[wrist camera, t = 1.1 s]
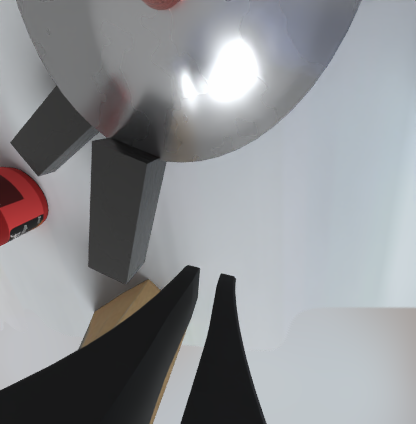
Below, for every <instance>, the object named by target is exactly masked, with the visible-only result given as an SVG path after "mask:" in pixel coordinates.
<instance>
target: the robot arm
mask: <svg viewBox="0 0 416 424" xmlns="http://www.w3.org/2000/svg"><path fill="white" fill-rule="evenodd" d="M199 274H200V268H198V267H194V266H190V265H187V266H186V267H185V268H184V269H183V270H182V271H181V272H180V273H179V274H178V275H177V276H176V277H175V278H174V279H173V280H172V281H171V282H170V283H169V284H168V285H167V286H166V287H164V288H163V289H162V290H161V291H160V292H159V293H158V294H157V295H156V296H154V297H153V298H152V299H151V300H150V301H148V302H147V303H146V304H145V305H144V306H142V307H141V308H140V309H139V310H137V311H136V312H135V313H133V314H132V315H131V316H130V317H128V318H127V319H125V320H124V321H123V322H121V323H120V324H118V325H117V326H116V327H114V328H113V329H111V330H110V331H108V332H106V333H105V334H103V335H102V336H100V337H99V338H97V339H96V340H94V341H92V342H91V343H89V344H88V345H86V346H84V347H82V348H81V349H79V350H77V351H75V352H74V353H72V354H70V355H68V356H67V357H65V358H63V359H61V360H59V361H58V362H56V363H54V364H52V365H51V366H49V367H47V368H45V369H43V370H41V371H39V372H37V373H35V374H33V375H30V376H29V377H27V378H24V379H22V380H20V381H18V382H17V383H14V384H12V385H10V386H8V387H6V388H4V389H2V390H0V424H150V421H151V418H152V415H153V412H154V409H155V406H156V403H157V400H158V397H159V394H160V392H161V389H162V386H163V383H164V380H165V377H166V375H167V372H168V370H169V367H170V365H171V363H172V361H173V358H174V356H175V354H176V351H177V349H178V347H179V345H180V342H181V340H182V338H183V336H184V333H185V331H186V329H187V326H188V324H189V322H190V320H191V317H192V314H193V311H194V308H195V304H196V301H197V298H198V286H199ZM235 282H236V278H235V277H234V276H230V275H226V274H222V273H221V275H220V278H219V280H218V283H217V287H216V293H215V298H214V304H213V309H212V315H211V321H210V326H209V331H208V335H207V339H206V342H205V346H204V349H203V352H202V356H201V359H200V362H199V366H198V369H197V373H196V376H195V379H194V382H193V385H192V389H191V392H190V395H189V398H188V401H187V405H186V408H185V411H184V415H183V417H182V421H181V424H266V421H265V418H264V415H263V412H262V409H261V406H260V403H259V400H258V397H257V394H256V391H255V388H254V384H253V381H252V377H251V374H250V370H249V366H248V363H247V359H246V355H245V351H244V346H243V342H242V337H241V332H240V327H239V321H238V314H237V307H236V296H235Z"/></svg>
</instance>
